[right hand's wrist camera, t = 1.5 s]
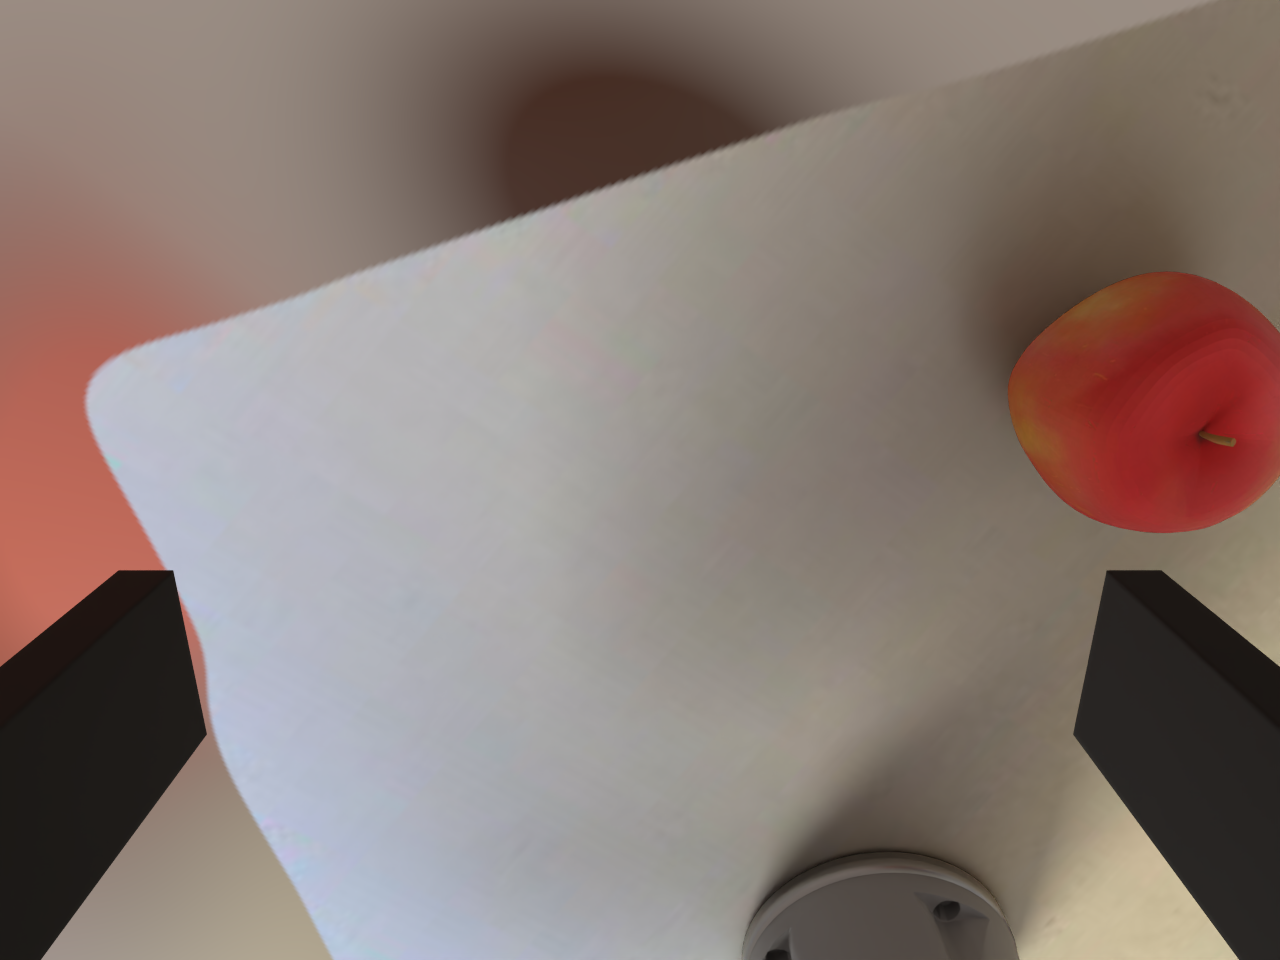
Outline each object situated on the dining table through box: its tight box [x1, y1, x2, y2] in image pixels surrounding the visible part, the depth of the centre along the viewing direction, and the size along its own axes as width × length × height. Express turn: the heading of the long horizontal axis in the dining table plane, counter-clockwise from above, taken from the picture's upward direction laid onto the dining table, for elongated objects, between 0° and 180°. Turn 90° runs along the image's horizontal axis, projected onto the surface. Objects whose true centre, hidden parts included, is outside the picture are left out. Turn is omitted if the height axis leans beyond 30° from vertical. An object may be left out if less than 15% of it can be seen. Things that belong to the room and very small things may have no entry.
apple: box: [1008, 272, 1280, 533], centre depth 34 cm, size 10×10×10 cm
